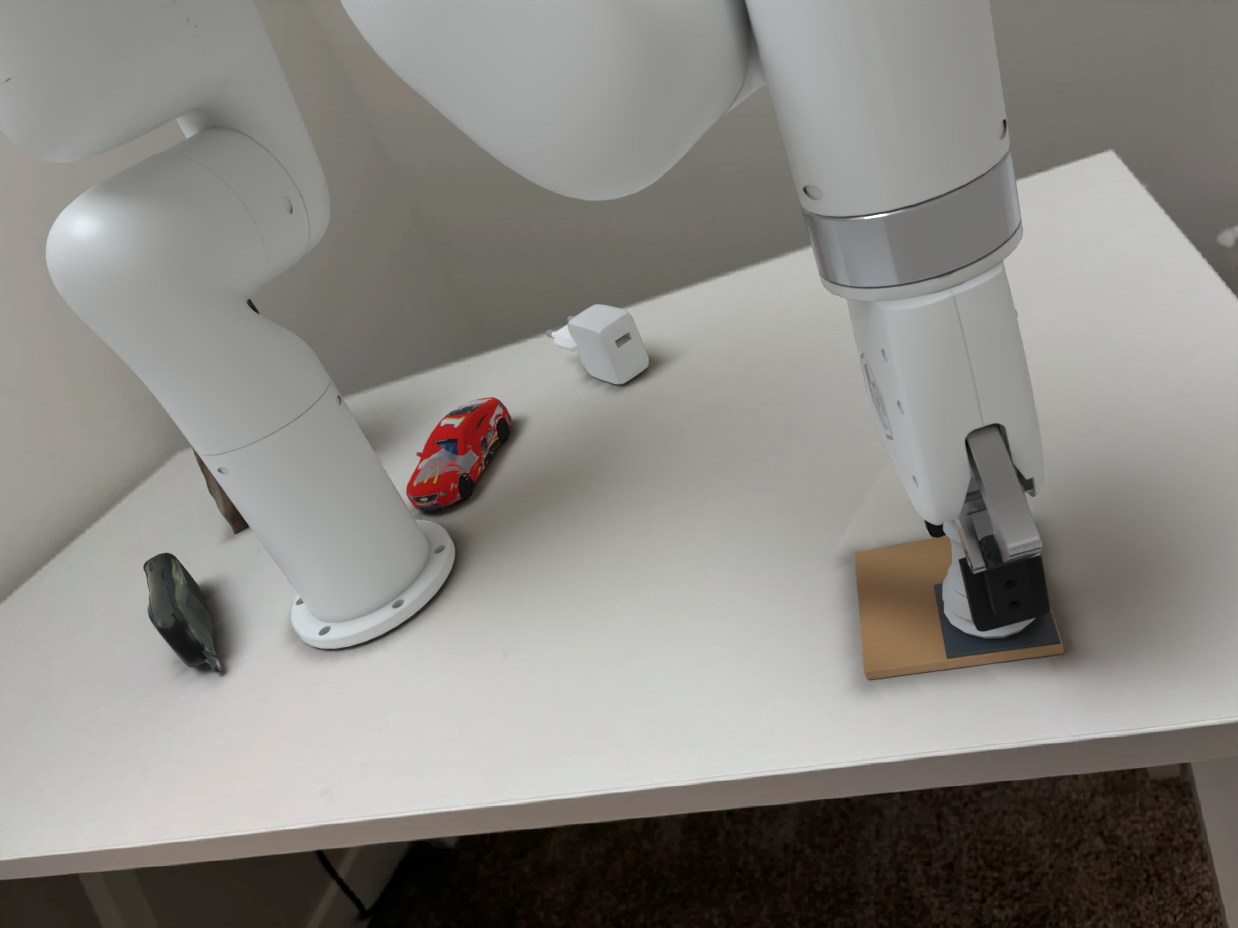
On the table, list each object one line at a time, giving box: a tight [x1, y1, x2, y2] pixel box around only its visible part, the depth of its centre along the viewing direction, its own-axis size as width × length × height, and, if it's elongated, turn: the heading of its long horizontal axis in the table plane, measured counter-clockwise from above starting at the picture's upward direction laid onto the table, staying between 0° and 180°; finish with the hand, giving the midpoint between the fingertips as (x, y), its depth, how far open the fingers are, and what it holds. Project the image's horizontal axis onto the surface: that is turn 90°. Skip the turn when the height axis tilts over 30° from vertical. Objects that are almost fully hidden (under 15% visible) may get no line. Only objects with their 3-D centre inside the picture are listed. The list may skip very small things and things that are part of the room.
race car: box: [405, 396, 513, 512], centre depth 79 cm, size 13×5×4 cm, turn 160°
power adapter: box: [545, 303, 650, 385], centre depth 85 cm, size 11×5×6 cm, turn 36°
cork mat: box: [853, 535, 1065, 681], centre depth 48 cm, size 9×9×1 cm
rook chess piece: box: [942, 479, 1035, 639], centre depth 44 cm, size 4×4×8 cm
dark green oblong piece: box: [142, 552, 223, 674], centre depth 72 cm, size 5×3×15 cm
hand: (983, 567), depth 45 cm, fingers open, 6 cm apart
